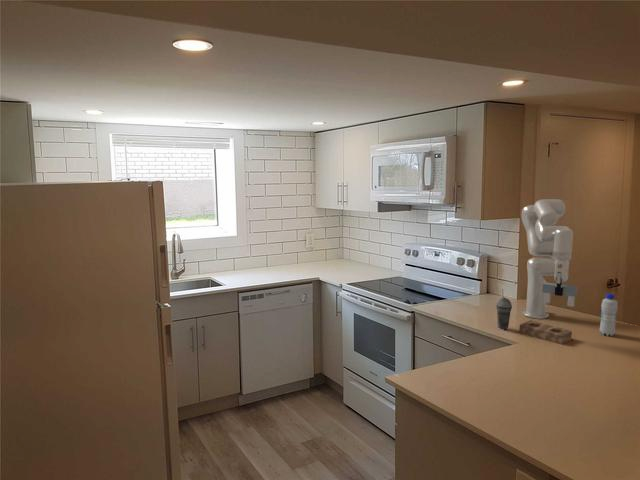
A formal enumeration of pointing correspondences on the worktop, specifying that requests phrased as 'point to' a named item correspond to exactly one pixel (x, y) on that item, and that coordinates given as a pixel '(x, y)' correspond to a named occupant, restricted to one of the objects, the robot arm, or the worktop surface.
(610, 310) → the bottle
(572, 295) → the grey block
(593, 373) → the worktop surface
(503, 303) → the beverage cup
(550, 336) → the brown rectangular block
